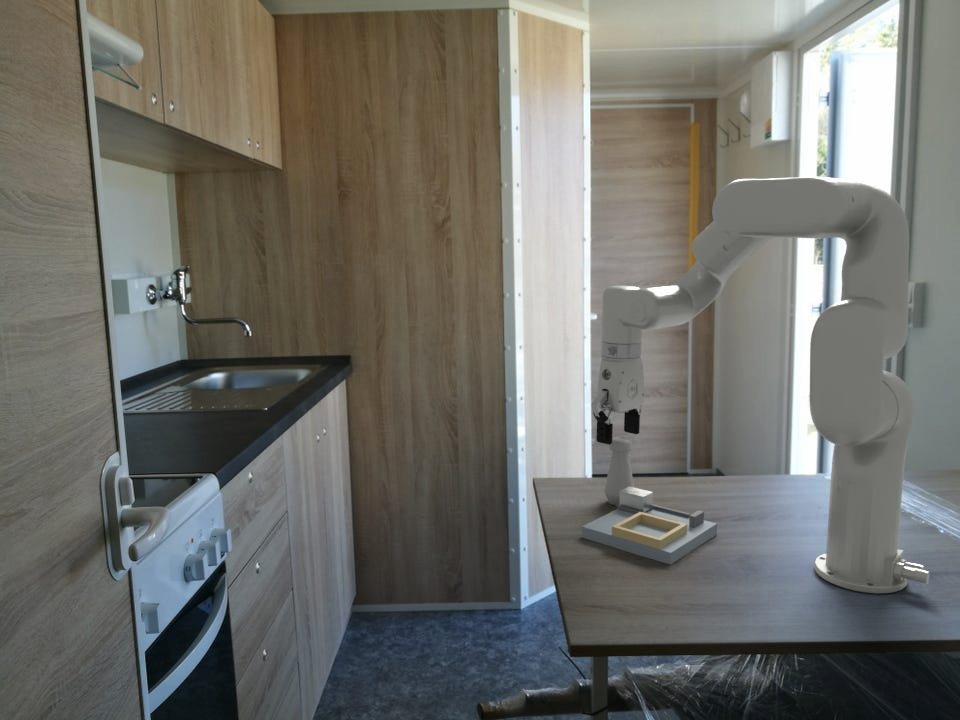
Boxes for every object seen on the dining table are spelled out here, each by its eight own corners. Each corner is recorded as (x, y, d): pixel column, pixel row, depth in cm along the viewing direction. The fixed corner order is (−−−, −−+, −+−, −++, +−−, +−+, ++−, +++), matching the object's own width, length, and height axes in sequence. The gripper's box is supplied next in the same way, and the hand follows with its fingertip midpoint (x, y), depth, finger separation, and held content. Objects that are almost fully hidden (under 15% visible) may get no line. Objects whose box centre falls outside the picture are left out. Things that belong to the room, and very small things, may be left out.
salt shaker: (636, 507, 144) (638, 442, 142) (606, 508, 144) (607, 442, 142) (631, 497, 149) (632, 434, 147) (602, 497, 150) (603, 434, 147)
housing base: (716, 534, 130) (717, 512, 129) (670, 564, 118) (671, 540, 118) (631, 511, 142) (632, 491, 141) (581, 537, 130) (582, 515, 129)
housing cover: (652, 507, 137) (653, 492, 137) (643, 512, 135) (643, 496, 134) (629, 501, 140) (629, 486, 140) (619, 506, 138) (619, 490, 137)
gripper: (613, 358, 133) (610, 451, 136) (661, 347, 146) (657, 432, 149) (578, 354, 138) (576, 443, 141) (628, 344, 151) (625, 426, 154)
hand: (618, 437), depth 145 cm, fingers open, 9 cm apart
